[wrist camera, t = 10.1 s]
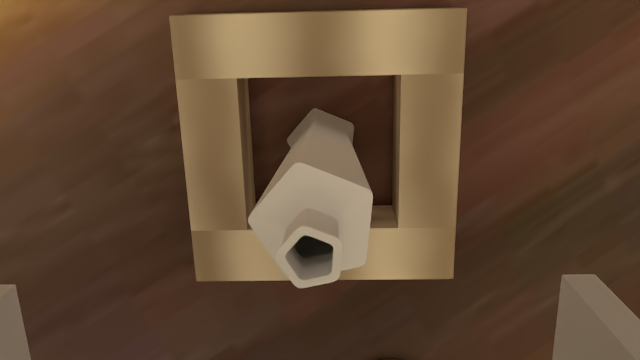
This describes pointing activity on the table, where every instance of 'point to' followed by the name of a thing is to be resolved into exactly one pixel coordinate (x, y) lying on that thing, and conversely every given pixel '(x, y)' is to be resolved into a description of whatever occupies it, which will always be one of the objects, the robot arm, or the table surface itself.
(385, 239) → the square wooden frame
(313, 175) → the perfume bottle
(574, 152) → the table surface
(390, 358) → the brown short cylinder
